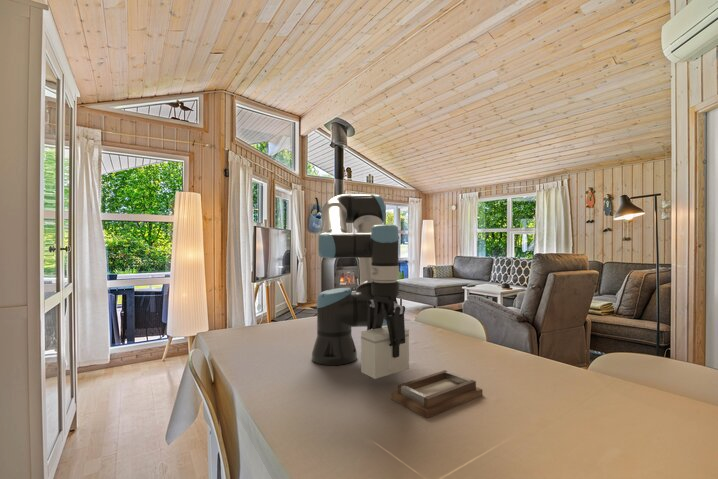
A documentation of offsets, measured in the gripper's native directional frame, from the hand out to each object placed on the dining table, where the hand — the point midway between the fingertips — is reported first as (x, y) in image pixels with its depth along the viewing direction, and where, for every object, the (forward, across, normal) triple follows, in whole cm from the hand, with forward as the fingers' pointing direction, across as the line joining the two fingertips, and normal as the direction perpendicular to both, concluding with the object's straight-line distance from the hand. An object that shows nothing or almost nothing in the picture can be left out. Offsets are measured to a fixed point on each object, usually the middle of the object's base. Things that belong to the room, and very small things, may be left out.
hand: (385, 364), depth 97 cm
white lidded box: (+1, 0, 0) cm, 1 cm away
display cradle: (+5, +14, +5) cm, 16 cm away
